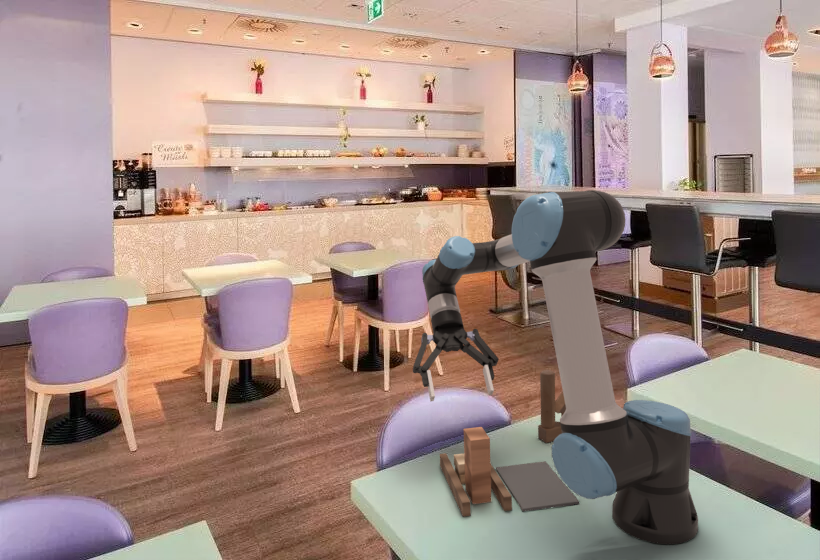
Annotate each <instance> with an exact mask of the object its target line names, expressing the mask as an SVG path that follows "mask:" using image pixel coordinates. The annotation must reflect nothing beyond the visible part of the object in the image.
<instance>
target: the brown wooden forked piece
mask: <svg viewBox="0 0 820 560" xmlns="http://www.w3.org/2000/svg"><path fill="white" fill-rule="evenodd" d="M539 377H540V379H539V381H540V382H539V383H540V384H539V385H540V387H539V388H540V389H539V390H540V392H539V393H540V424H539V425H538V424H537V425H538V426H537V434H538V435H537V437H538V439H539V440H541V441H543V442H544V443H546V444H547V443H551V442H554V440H555V438H556V437H557V436H559V435H560V434H562V431H561V425H560V421H557V420H556V414H560V415H561V417H562V415H563V414H564V412H565V411H566V405H565V400H564V394H563V390H562V391H561V393H560V394H559V395H558V397H557V399H556V373H555V371H554V370H552V369H551V370H550V369H542V370H541V371H540V372H539ZM561 417H560V418H561Z"/></svg>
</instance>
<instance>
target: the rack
mask: <svg viewBox="0 0 820 560" xmlns="http://www.w3.org/2000/svg"><path fill="white" fill-rule="evenodd" d="M439 466H440V469H441V471H442V473H443V476H444V478H445V480H446V482H447V484H448V487H449V489H450V491H451V493H452V496H453V497H454V500H455V502H456V504H457V507H458V509H459V511H460V513H461V515H462V517H470V516H472V514H471V513H472V511H471V500H470V498H469V496H468V494H467V492H466V489H465V488H464V487H463V486H464V485H463V484H461V482H460V480H459V478H458V476H457V474H456V472H455V467H454V466H453V464H452V461H451V460H450V458H449V456H448V453H446V452H445V453H439ZM490 466H491V492H493V494H494V496H495V498H496V499H497V501H498V502H499V504H500V506H501V507H502V510H503V511H504V512H509V511H513V498H512V497H513V496H512V494H511V493H510V491H509V489H508V488H507V486H506V485H505V483H504V482H503V480H502V479H501V477H500V475H499V474H498V472H497V471H496V468H494V466H493V465H492V462H490Z"/></svg>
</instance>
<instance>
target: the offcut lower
mask: <svg viewBox="0 0 820 560" xmlns="http://www.w3.org/2000/svg"><path fill="white" fill-rule="evenodd" d="M454 470H455V472H456V474H457V476H458V478H459V480H460V482H461V484H462V485H465V475H459V474H458V472H457V470H456V468H455V467H454Z"/></svg>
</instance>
